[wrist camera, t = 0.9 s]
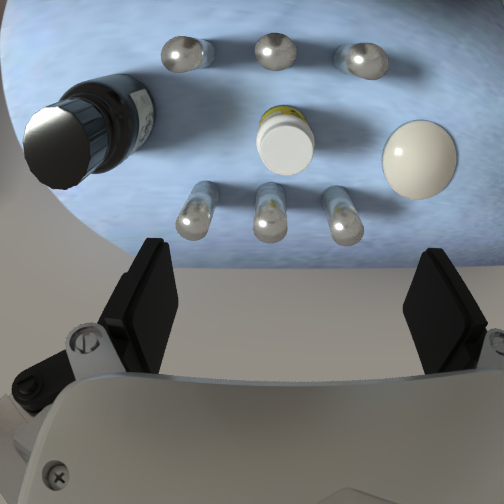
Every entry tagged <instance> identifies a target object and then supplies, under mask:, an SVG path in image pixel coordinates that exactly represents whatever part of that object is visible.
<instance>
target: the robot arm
mask: <svg viewBox="0 0 504 504" xmlns="http://www.w3.org/2000/svg"><path fill="white" fill-rule="evenodd" d="M502 2H503V5H504V0H502ZM177 308H178V294H177V289H176V284H175V278H174V273H173V267H172V261H171V255H170V249H169V244H168V243H167V242H164V240H163V239H162V238H147V239H146V240H145V242H144V243H143V245H142V247H141V249H140V250H139V252H138V254H137V256H136V258H135V259H134V261H133V263H132V265H131V267H130V269H129V271H128V272H126V273H124V274H123V275H122V276H121V278H120V280H119V282H118V284H117V286H116V287H115V289H114V291H113V293H112V295H111V297H110V299H109V301H108V303H107V305H106V307H105V308H104V311H103V313H102V314H101V316H100V318H99V321H98V322H97V323H85V324H81V325H79V326H77V327H75V328H74V329H73V330H72V331H71V332H70V333H69V334H68V336H67V337H66V341H65V348H66V349H65V350H63V351H61V352H59V353H57V354H55V355H53V356H51V357H49V358H47V359H46V360H44V361H42V362H40V363H38V364H36V365H34V366H32V367H30V368H28V369H26V370H24V371H23V372H21V373H20V374H19V375H18V376H17V377H16V378H15V380H14V382H13V384H12V393H11V394H10V395H9V396H8V395H7V394H5V395H4V396H2V397H1V398H0V493H1V494H2V496H3V497H4V499H5V500H6V502H7V503H8V504H504V331H503V330H501V329H496V328H494V329H490V330H489V331H487V330H486V326H487V324H488V322H487V321H486V319H485V317H484V315H483V313H482V312H481V310H480V308H479V306H478V304H477V303H476V301H475V299H474V298H473V296H472V294H471V293H470V291H469V290H468V288H467V286H466V284H465V283H464V281H463V280H462V278H461V276H460V275H459V273H458V272H457V270H456V269H455V267H454V265H453V264H452V262H451V261H450V259H449V258H448V256H447V255H446V253H445V252H444V250H443V249H441V248H427V250H426V251H424V252H423V253H422V255H421V258H420V261H419V264H418V266H417V270H416V272H415V275H414V278H413V281H412V283H411V286H410V288H409V291H408V293H407V296H406V299H405V301H404V304H403V314H404V316H405V319H406V321H407V324H408V327H409V330H410V332H411V335H412V338H413V340H414V343H415V346H416V349H417V352H418V355H419V358H420V361H421V364H422V367H423V370H424V373H425V375H418V376H410V377H398V378H386V379H372V380H371V379H370V380H352V381H325V382H324V381H323V382H276V381H245V380H226V379H212V378H197V377H184V376H174V375H163V374H158V373H159V370H160V366H161V363H162V359H163V356H164V352H165V349H166V345H167V342H168V338H169V335H170V332H171V328H172V324H173V322H174V318H175V315H176V312H177Z"/></svg>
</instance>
